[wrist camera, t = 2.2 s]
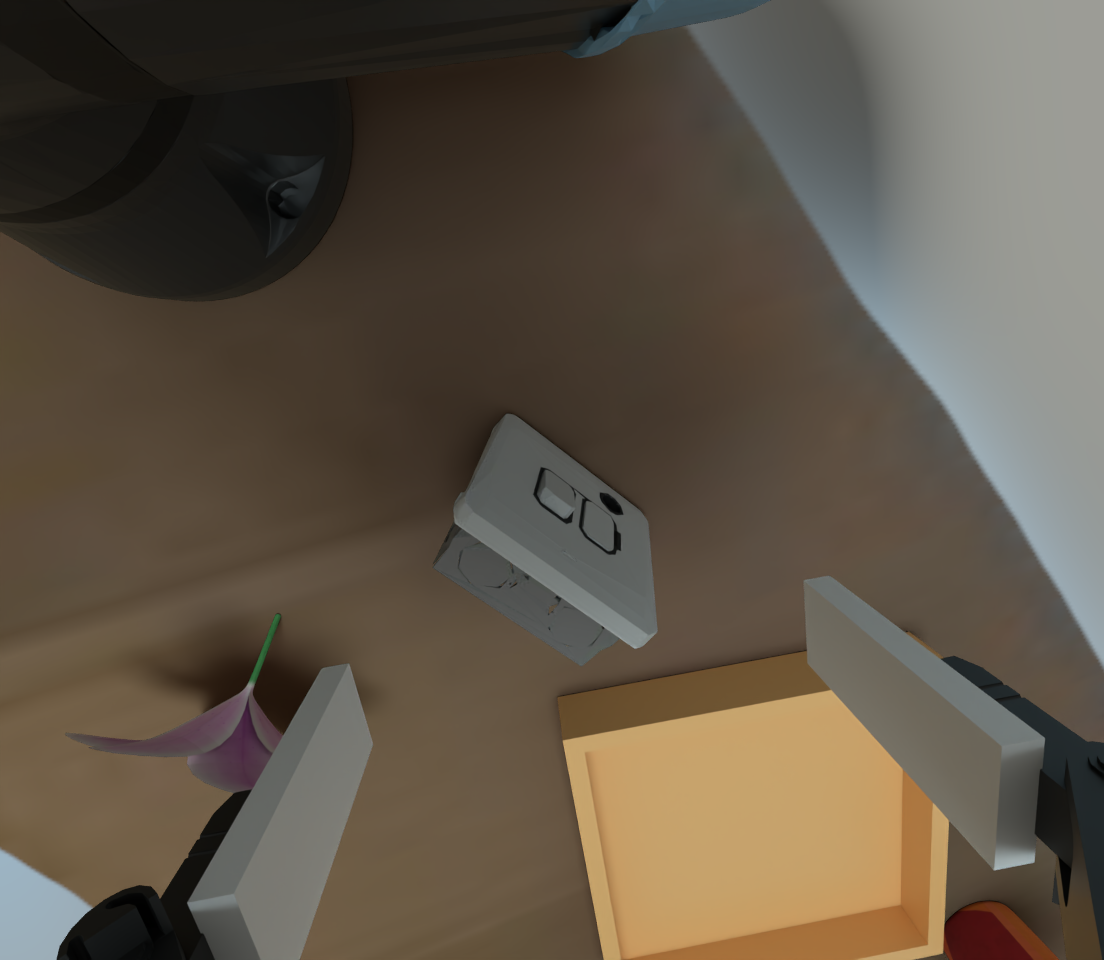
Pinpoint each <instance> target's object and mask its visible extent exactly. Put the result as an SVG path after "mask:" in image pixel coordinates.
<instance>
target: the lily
mask: <svg viewBox="0 0 1104 960" xmlns="http://www.w3.org/2000/svg"><path fill="white" fill-rule="evenodd" d="M280 618H281V615H279V614H276V615H275V617H274V620H273V622H272V625H271V627H270V630H269V633H268V635H267V638H266V640H265V643H264V645H263V648H262V651H261V653H260V656H259V658H258V661H257V663H256V666H255V668H254V671H253V673H252V675H251V678H250V680H249V682H248V684H247V686H246V687H245V688H244V690H243V691H241V692H240V693H239V694H237V695H236V696H234V697H232V698H230V699H229V700H227V701H225V702H223V703H221V704H219V705H218V706H216V707H214V708H212V709H210V710H208V711H206V712H205V713H203V714H201V715H199V716H197V717H195V718H193V719H191V720H189V721H188V722H186V723H184V724H182V725H180V726H178V727H176V728H174V729H172V730H170V731H168V732H165V733H163V734H161V735H158V736H156V737H153V738H150V739H147V740H127V739H116V738H107V737H99V736H92V735H84V734H76V733H65V735H66V736H68V737H70V738H71V739H73V740H76V741H78V742H81V743H84V744H86V745H90V746H93V747H89V748H91V749H95V750H99V751H105V752H111V753H118V754H128V755H138V756H155V757H187V756H188V762H187V765H188V767H189V768H190V770H191V772H192V773H193V775H195V776H196V777H197V778H199V779H200V780H202V781H203V782H204V783H207V784H209V785H211V786H214V787H216V788H219V789H221V790H225V791H228V792H232V793H235V792H240V791H245V790H250V789H253V787H254V786H255V784H256V782H257V780H258V779H259V777H260V775H261V773H262V772H263V770H264V768H265V766H266V765H267V763H268V761H269V759H270V758H271V756H272V754H273V752H274V751H275V749H276V747H277V746H278V744H279V742H280V740H281V739H282V737H283V735H282V734H281V733H280V732H279V731H278V730H277V729H276V728H275V727H274V726H273V724H272V723H271V722H270V721H269V719H268V718H267V717H266V715H265V714H264V713H263V711H262V710H261V708H260V707H259V705H258V704H257V702H256V701H255V699H254V697H253V688H254V686H255V683H256V680H257V678H258V675H259V672H260V670H261V667H262V665H263V662H264V660H265V657H266V654H267V652H268V649H269V647H270V644H271V641H272V639H273V636H274V634H275V631H276V628H277V626H278V623H279V620H280Z"/></svg>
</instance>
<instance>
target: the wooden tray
mask: <svg viewBox="0 0 1104 960" xmlns="http://www.w3.org/2000/svg"><path fill="white" fill-rule="evenodd" d="M905 633H906V634H908V635H909V636H910V637H912V638H913V639H914V640H916V641H917V642H918V643H920V644H921V645H922V646H924V647H925V648H926V649H928V650H929V651H930V652H932V653H933V654H934V655H936V656H937V657H938V658H940V659H941V658H943V657H942V656H941V655H939V654H938V653H937V652H935V651H934V650H933V649H931V648H930V647H929V646H927V645H926V644H925V643H924V642H922V641H921V640H920V639H918V638H917V637H916V636H914V635H913V634H912V633H910V632H905ZM557 698H558V706H559V714H560V722H561V730H562V738H563V744H564V750H565V755H566V760H567V766H568V771H569V776H570V782H571V787H572V792H573V798H574V803H575V808H576V814H577V819H578V824H579V830H580V835H581V840H582V846H583V851H584V856H585V862H586V867H587V872H588V878H589V883H590V888H591V894H592V899H593V904H594V910H595V915H596V920H597V926H598V931H599V936H600V942H601V947H602V952H603V958H604V960H913V959H918V958H923V957H928V956H933V955H938V954H943V942H944V919H945V896H946V873H947V851H948V828H949V820H948V819H947V818H946V816H945V815H944V814H943V813H942V812H941V811H940V810H939V809H938V808H937V806H936V805H935V804H934V803H933V802H932V801H931V800H930V799H929V798H928V797H927V795H926V794H925V793H924V792H923V791H922V790H921V789H920V788H919V787H918V785H917V784H916V783H915V782H914V781H913V780H912V779H911V778H910V777H909V775H908V774H907V773H906V772H905V771H904V770H903V769H902V768H901V767H900V765H899V764H898V763H897V762H896V761H895V760H894V759H893V758H892V757H891V755H890V754H889V753H888V752H887V751H886V750H885V749H884V748H883V747H882V746H881V744H880V743H879V742H878V741H877V740H876V739H875V738H874V737H873V736H872V734H871V733H870V732H869V731H868V730H867V729H866V728H865V727H864V726H863V724H862V723H861V722H860V721H859V720H858V719H857V718H856V717H855V716H854V714H853V713H852V712H851V711H850V710H849V709H848V708H847V707H846V706H845V705H844V703H843V702H842V701H841V700H840V699H839V698H838V697H837V696H836V695H835V693H834V692H833V691H832V690H831V689H830V688H829V687H828V686H827V685H826V683H825V682H824V681H823V680H822V679H821V678H820V677H819V676H818V675H817V673H816V672H815V671H814V670H813V669H812V668H811V667H810V666H809V665H808V663H807V651H803V652H798V653H792V654H787V655H781V656H776V657H771V658H765V659H760V660H754V661H749V662H744V663H738V664H733V665H728V666H722V667H717V668H711V669H706V670H701V671H695V672H690V673H684V674H679V675H674V676H668V677H663V678H657V679H652V680H647V681H641V682H636V683H631V684H625V685H620V686H614V687H609V688H604V689H598V690H593V691H587V692H582V693H577V694H571V695H566V696H560V697H557Z"/></svg>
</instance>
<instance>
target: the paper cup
mask: <svg viewBox="0 0 1104 960" xmlns="http://www.w3.org/2000/svg"><path fill="white" fill-rule="evenodd" d="M943 949H944V951H945V953H946V955H947V956H948V958H949V960H1059V959H1058V958H1057V957H1056V956H1055V955H1054V954H1053V953H1052V952H1051V950H1050V949H1049V948H1048V947H1047V946H1046V945H1045V944H1044V943H1043V942H1042V941H1041V940H1040V939H1039V938H1038V937H1037V936H1036V935H1035V934H1034V933H1033V932H1032V931H1031V930H1030V929H1029V927H1028V926H1027V925H1026V924H1025V923H1024V922H1023V921H1022V920H1021V919H1020V918H1019V917H1018V916H1017V915H1016V914H1015V913H1014V912H1013V911H1012V910H1011V909H1009V908H1008V907H1007V906H1006V905H1004V904H1002V903H999V902H995V901H982V902H977V903H973V904H970V905H968V906H966V907H964V908H962V909H960V910H959V911H957V912H956V913H955V914H954V915H952V916H951V917H950V918H949V920H948V921H947V922H946V924H945V925H944V942H943Z"/></svg>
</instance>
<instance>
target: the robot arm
mask: <svg viewBox="0 0 1104 960" xmlns="http://www.w3.org/2000/svg"><path fill="white" fill-rule="evenodd" d="M768 1H770V0H0V232H2V233H4V234H6V235H7V236H9V237H11V238H13V239H14V240H16V241H18V242H20V243H22V244H24V245H25V246H27V247H29V248H30V249H32V250H33V251H35V252H36V253H38V254H39V255H41V256H42V257H44V258H46V259H47V260H49V261H50V262H52V263H53V264H55V265H57V266H59V267H60V268H62V269H64V270H66V271H68V272H70V273H72V274H74V275H76V276H78V277H80V278H83V279H85V280H88V281H90V282H93V283H95V284H98V285H101V286H104V287H107V288H110V289H113V290H116V291H120V292H124V293H128V294H132V295H138V296H143V297H150V298H160V299H171V300H181V301H213V300H221V299H227V298H232V297H237V296H240V295H244V294H247V293H250V292H252V291H255V290H258V289H260V288H262V287H264V286H266V285H268V284H271V283H272V282H274V281H276V280H277V279H279V278H281V277H282V276H284V275H285V274H286V273H288V272H289V271H291V270H292V269H293V268H294V267H295V266H297V265H298V264H299V263H300V262H301V261H302V260H303V259H304V258H305V257H306V256H307V255H308V254H309V253H310V252H311V251H312V250H313V248H314V247H315V246H316V245H317V244H318V242H319V241H320V239H321V238H322V237H323V235H324V234H325V232H326V231H327V229H328V227H329V225H330V224H331V222H332V220H333V218H334V216H335V214H336V212H337V210H338V207H339V204H340V202H341V199H342V197H343V193H344V190H345V187H346V183H347V179H348V174H349V169H350V162H351V154H352V112H351V104H350V97H349V92H348V86H347V82H346V78H345V77H349V76H358V75H366V74H374V73H382V72H390V71H399V70H407V69H415V68H423V67H432V66H440V65H448V64H456V63H464V62H473V61H481V60H489V59H497V58H505V57H514V56H522V55H530V54H538V53H546V52H555V51H562V52H565V53H567V54H569V55H570V56H572V57H574V58H583V57H590V56H595V55H600V54H602V53H604V52H606V51H609V50H611V49H613V48H615V47H617V46H619V45H620V44H622V43H623V42H624V41H625V40H626V39H628V38H629V37H630V36H635V35H640V34H645V33H650V32H655V31H660V30H665V29H671V28H676V27H681V26H686V25H691V24H696V23H701V22H707V21H712V20H716V19H722V18H727V17H731V16H734V15H737V14H741V13H744V12H746V11H749V10H751V9H753V8H756V7H758V6H760V5H762V4H764V3H766V2H768ZM804 598H805V620H806V642H807V663H808V665H809V666H810V667H811V668H812V669H813V670H814V671H815V672H816V673H817V675H818V676H819V677H820V678H821V679H822V680H823V681H824V682H825V683H826V685H827V686H828V687H829V688H830V689H831V690H832V691H833V692H834V693H835V695H836V696H837V697H838V698H839V699H840V700H841V701H842V702H843V703H844V705H845V706H846V707H847V708H848V709H849V710H850V711H851V712H852V713H853V714H854V716H855V717H856V718H857V719H858V720H859V721H860V722H861V723H862V724H863V726H864V727H865V728H866V729H867V730H868V731H869V732H870V733H871V734H872V736H873V737H874V738H875V739H876V740H877V741H878V742H879V743H880V744H881V746H882V747H883V748H884V749H885V750H886V751H887V752H888V753H889V754H890V755H891V757H892V758H893V759H894V760H895V761H896V762H897V763H898V764H899V765H900V767H901V768H902V769H903V770H904V771H905V772H906V773H907V774H908V775H909V777H910V778H911V779H912V780H913V781H914V782H915V783H916V784H917V785H918V787H919V788H920V789H921V790H922V791H923V792H924V793H925V794H926V795H927V797H928V798H929V799H930V800H931V801H932V802H933V803H934V804H935V805H936V806H937V808H938V809H939V810H940V811H941V812H942V813H943V814H944V815H945V816H946V818H947V819H948V820H949V821H950V822H951V823H952V824H953V825H954V826H955V828H956V829H957V830H958V831H959V832H960V833H961V834H962V835H963V836H964V838H965V839H966V840H967V841H968V842H969V843H970V844H971V845H972V846H973V848H974V849H975V850H976V851H977V852H978V853H979V854H980V855H981V856H982V857H983V859H984V860H985V861H986V862H987V863H988V864H989V865H990V866H991V867H992V869H993V870H999V869H1004V868H1009V867H1014V866H1019V865H1024V864H1029V863H1034V860H1035V848H1036V837H1038V838H1039V839H1041V840H1042V841H1043V842H1044V843H1045V844H1046V845H1047V846H1048V847H1049V848H1050V849H1051V850H1052V851H1053V852H1054V853H1055V854H1056V855H1057V858H1056V868H1055V878H1054V888H1053V898H1052V902H1053V903H1056V904H1059V905H1060V911H1061V919H1062V927H1063V935H1064V943H1065V951H1066V959H1067V960H1104V743H1101V742H1093V741H1092V742H1087V741H1085V740H1084V739H1082V738H1081V737H1080V736H1078V735H1077V734H1075V733H1074V732H1072V731H1071V730H1070V729H1068V728H1067V727H1065V726H1064V725H1063V724H1061V723H1060V722H1058V721H1057V720H1055V719H1054V718H1053V717H1051V716H1050V715H1048V714H1047V713H1046V712H1044V711H1043V710H1041V709H1040V708H1038V707H1037V706H1036V705H1034V704H1033V703H1031V702H1030V701H1029V700H1027V699H1026V698H1021V696H1020V694H1019V693H1017V692H1016V691H1014V690H1013V689H1012V688H1010V687H1009V686H1007V685H1003V683H1002V681H1000V680H999V679H997V678H996V677H994V676H993V675H992V674H990V673H989V672H987V671H986V670H985V669H983V668H982V667H980V666H977V665H975V664H972V663H970V662H968V661H965V660H963V659H961V658H958V657H956V656H952V657H947V658H941V659H940V658H938V657H937V656H936V655H934V654H933V653H932V652H930V651H929V650H928V649H926V648H925V647H924V646H922V645H921V644H920V643H918V642H917V641H916V640H914V639H913V638H912V637H910V636H909V635H908V634H906V633H905V632H904V631H902V630H901V629H900V628H898V627H897V626H896V625H894V624H893V623H892V622H890V621H889V620H888V619H886V618H885V617H884V616H883V615H881V614H880V613H879V612H877V611H876V610H875V609H873V608H872V607H871V606H869V605H868V604H867V603H865V602H864V601H863V600H861V599H860V598H859V597H857V596H856V595H855V594H853V593H852V592H851V591H849V590H848V589H847V588H845V587H844V586H843V585H841V584H840V583H839V582H837V581H836V580H835V579H833V578H832V577H831V576H825V577H819V578H814V579H808V580H804ZM372 746H373V742H372V739H371V736H370V732H369V729H368V726H367V722H366V719H365V715H364V712H363V709H362V705H361V702H360V698H359V695H358V692H357V688H356V685H355V682H354V678H353V675H352V671H351V668H350V665H349V663H347V664H342V665H336V666H331V667H325V668H322V669H321V671H320V672H319V674H318V676H317V678H316V679H315V681H314V683H313V685H312V686H311V688H310V690H309V692H308V693H307V695H306V697H305V699H304V700H303V702H302V704H301V705H300V707H299V709H298V711H297V712H296V714H295V716H294V718H293V719H292V721H291V723H290V725H289V726H288V728H287V730H286V732H285V733H284V735H283V737H282V739H281V740H280V742H279V744H278V746H277V747H276V749H275V751H274V752H273V754H272V756H271V758H270V759H269V761H268V763H267V765H266V766H265V768H264V770H263V772H262V773H261V775H260V777H259V779H258V780H257V782H256V784H255V786H254V787H253V789H250V790H245V791H240V792H235V793H234V794H233V795H232V796H231V797H230V798H229V799H228V800H227V801H226V802H225V803H224V804H223V805H222V806H221V807H220V808H219V809H218V810H217V811H216V812H215V813H214V814H213V815H212V817H211V819H210V820H209V822H208V823H207V825H206V827H205V828H204V830H203V831H202V833H201V835H200V839H199V840H197V841H196V843H195V844H194V846H193V847H192V849H191V851H190V852H189V856H188V858H186V859H185V860H184V862H183V863H182V865H181V866H180V868H179V870H178V871H177V873H176V874H175V876H174V878H173V879H172V881H171V882H170V884H169V886H168V887H167V889H166V890H165V892H164V894H163V895H162V897H161V898H160V899H159V896H158V894H157V893H156V892H155V890H154V889H153V888H152V887H151V886H142V885H138V886H135V887H131V888H128V889H124V890H122V891H120V892H118V893H116V894H114V895H112V896H110V897H109V898H107V899H105V900H103V901H102V902H101V903H99V904H98V905H97V906H95V907H94V908H93V909H91V910H90V911H89V912H87V913H86V914H85V915H84V916H83V917H82V918H81V919H80V920H79V922H77V924H76V925H75V926H74V927H73V928H72V929H71V930H70V932H69V933H68V934H67V936H66V938H65V939H64V941H63V942H62V944H61V945H60V948H59V951H58V956H57V960H300V957H301V954H302V951H303V948H304V945H305V942H306V939H307V936H308V933H309V931H310V928H311V925H312V922H313V919H314V916H315V913H316V910H317V907H318V904H319V901H320V898H321V895H322V893H323V890H324V887H325V884H326V881H327V878H328V875H329V872H330V869H331V866H332V863H333V860H334V857H335V854H336V852H337V849H338V846H339V843H340V840H341V837H342V834H343V831H344V828H345V825H346V822H347V819H348V816H349V813H350V811H351V808H352V805H353V802H354V799H355V796H356V793H357V790H358V787H359V784H360V781H361V778H362V775H363V772H364V770H365V767H366V764H367V761H368V758H369V755H370V752H371V749H372Z"/></svg>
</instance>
